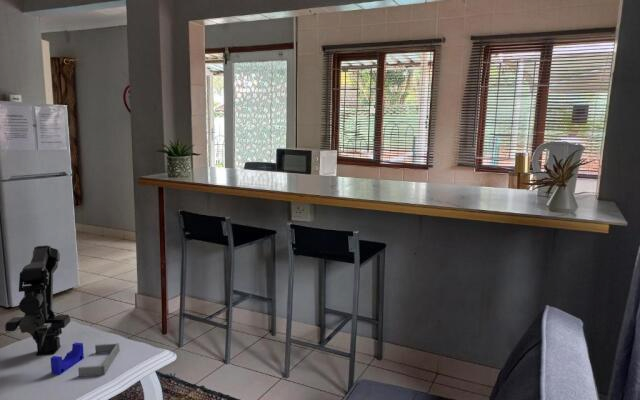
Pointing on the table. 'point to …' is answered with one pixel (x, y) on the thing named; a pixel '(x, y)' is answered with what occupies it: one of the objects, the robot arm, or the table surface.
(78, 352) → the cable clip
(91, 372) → the grey u-shaped bracket
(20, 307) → the robot arm
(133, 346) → the table surface
